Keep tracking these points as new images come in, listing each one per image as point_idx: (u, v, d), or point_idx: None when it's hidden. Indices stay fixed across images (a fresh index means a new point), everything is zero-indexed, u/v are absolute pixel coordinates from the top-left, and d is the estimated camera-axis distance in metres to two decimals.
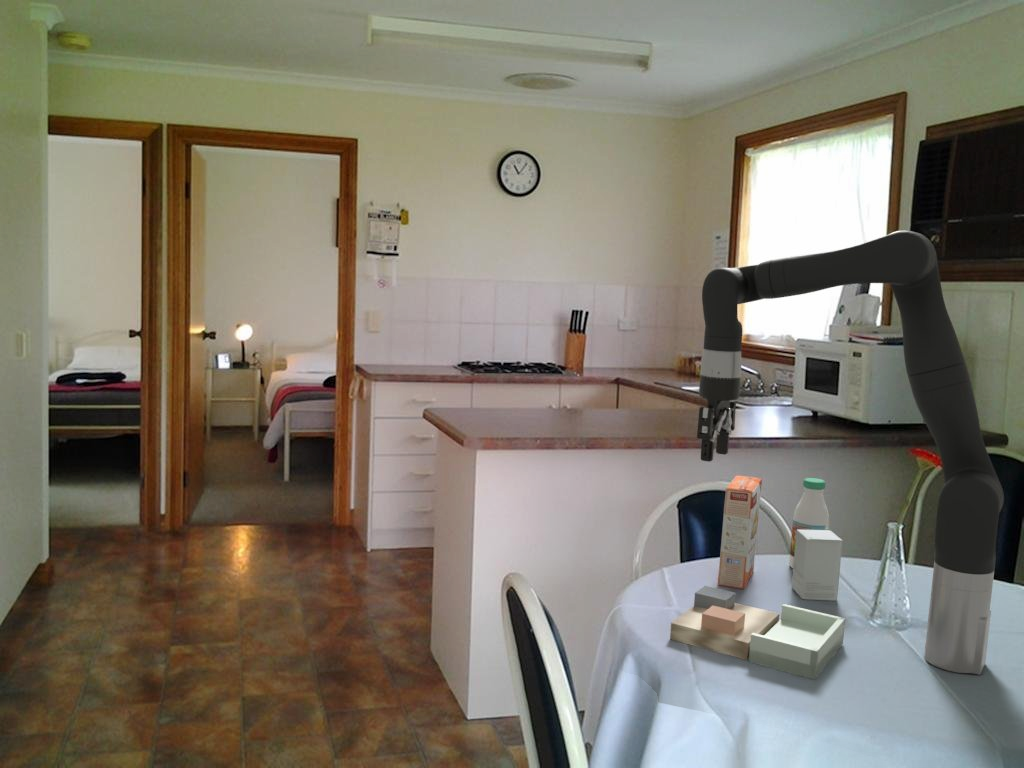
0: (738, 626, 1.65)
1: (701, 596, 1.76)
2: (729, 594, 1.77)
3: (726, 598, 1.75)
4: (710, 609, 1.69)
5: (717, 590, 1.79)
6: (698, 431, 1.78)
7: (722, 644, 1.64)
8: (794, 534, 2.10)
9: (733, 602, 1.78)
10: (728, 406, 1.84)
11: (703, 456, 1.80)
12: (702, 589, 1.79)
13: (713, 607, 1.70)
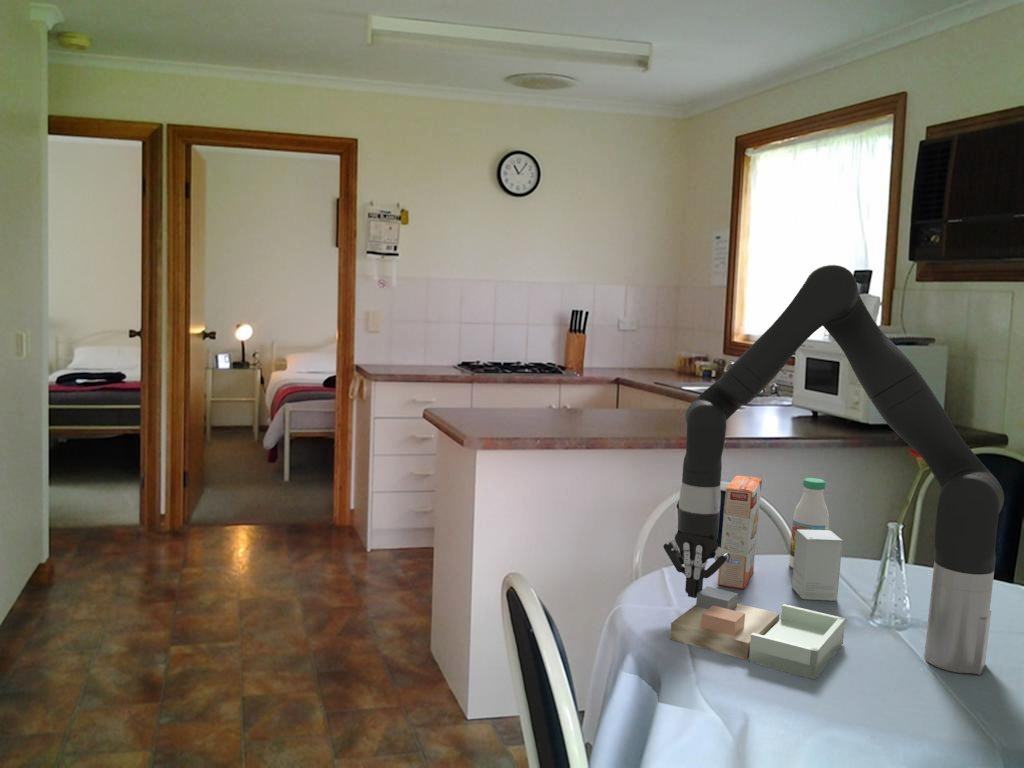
0: (738, 626, 1.65)
1: (703, 597, 1.76)
2: (731, 595, 1.77)
3: (728, 599, 1.74)
4: (710, 609, 1.69)
5: (719, 591, 1.79)
6: (711, 574, 1.77)
7: (722, 644, 1.64)
8: (794, 534, 2.10)
9: (736, 603, 1.78)
10: None
11: None
12: (704, 589, 1.79)
13: (713, 607, 1.70)
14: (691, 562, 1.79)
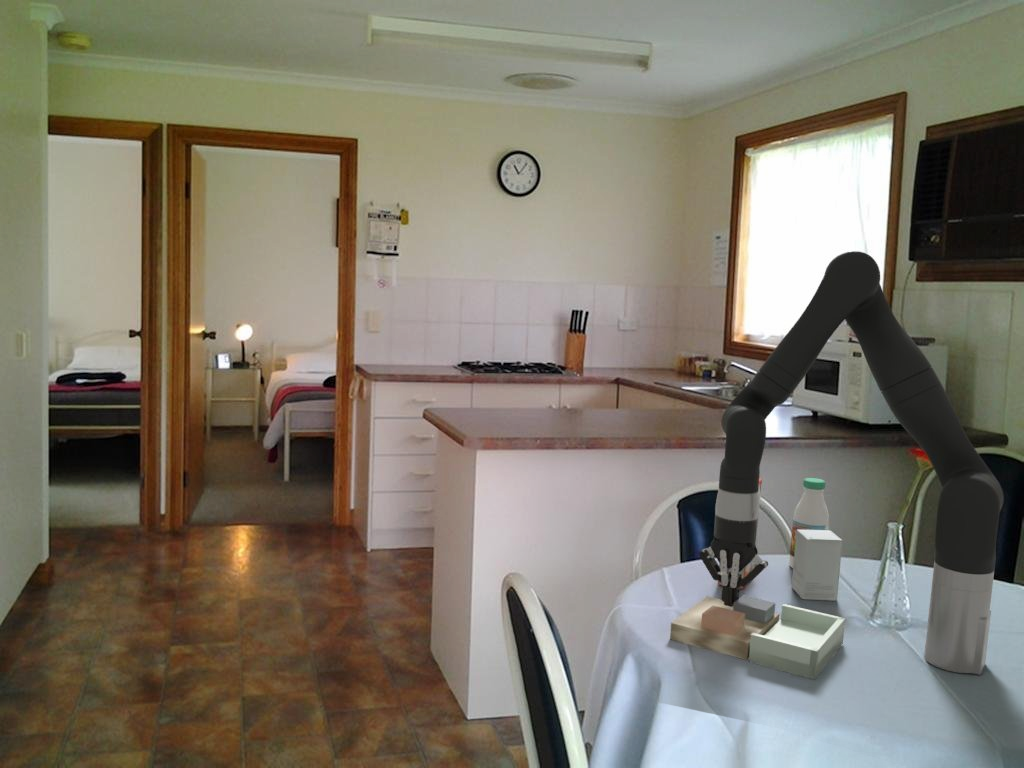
0: (738, 626, 1.65)
1: (740, 606, 1.72)
2: (769, 604, 1.73)
3: (765, 608, 1.70)
4: (710, 609, 1.69)
5: (756, 600, 1.75)
6: (748, 583, 1.73)
7: (722, 644, 1.64)
8: (794, 534, 2.10)
9: (773, 613, 1.74)
10: None
11: None
12: (740, 599, 1.75)
13: (713, 607, 1.70)
14: (728, 570, 1.75)
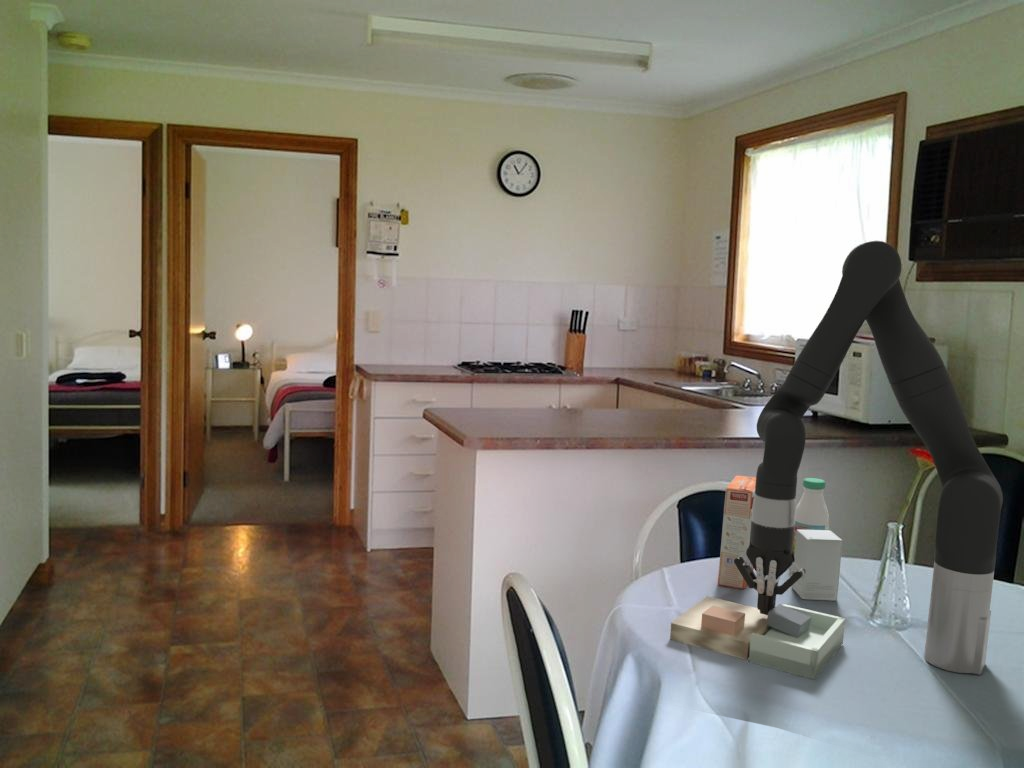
0: (738, 626, 1.65)
1: (775, 616, 1.69)
2: (804, 618, 1.69)
3: (801, 622, 1.67)
4: (710, 609, 1.69)
5: (792, 611, 1.71)
6: None
7: (722, 644, 1.64)
8: (794, 534, 2.10)
9: (808, 627, 1.70)
10: None
11: None
12: (776, 608, 1.71)
13: (713, 607, 1.70)
14: (764, 578, 1.71)
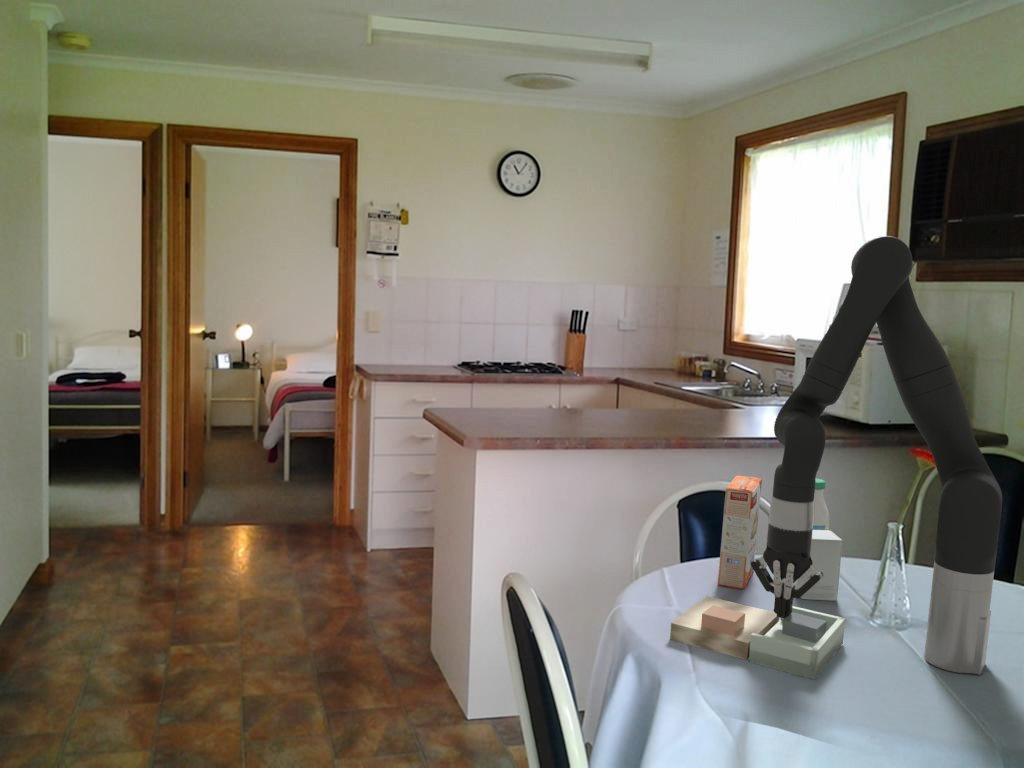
0: (738, 626, 1.65)
1: (789, 624, 1.67)
2: (819, 623, 1.67)
3: (816, 627, 1.65)
4: (710, 609, 1.69)
5: (807, 617, 1.69)
6: None
7: (722, 644, 1.64)
8: None
9: (824, 631, 1.68)
10: None
11: (789, 614, 1.70)
12: (790, 616, 1.70)
13: (713, 607, 1.70)
14: (781, 581, 1.69)
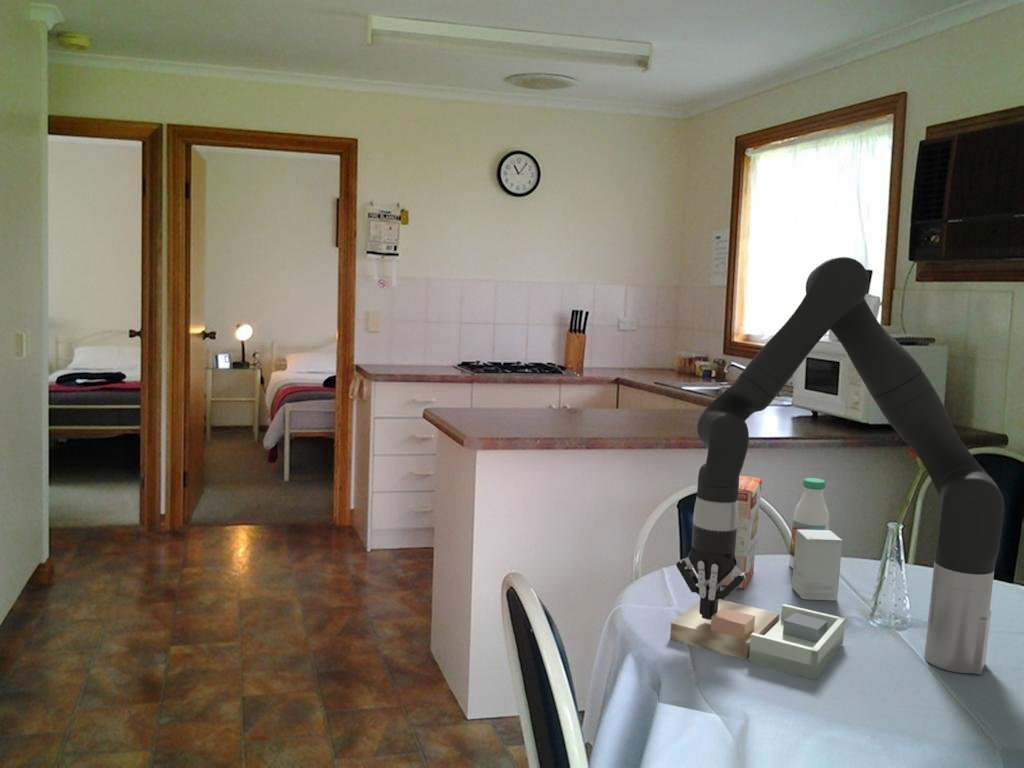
0: (747, 629, 1.64)
1: (790, 624, 1.67)
2: (821, 623, 1.67)
3: (817, 627, 1.65)
4: (720, 612, 1.68)
5: (808, 618, 1.69)
6: (727, 595, 1.66)
7: (722, 644, 1.64)
8: (794, 534, 2.10)
9: (825, 631, 1.68)
10: None
11: None
12: (791, 616, 1.69)
13: (723, 610, 1.69)
14: (706, 582, 1.68)
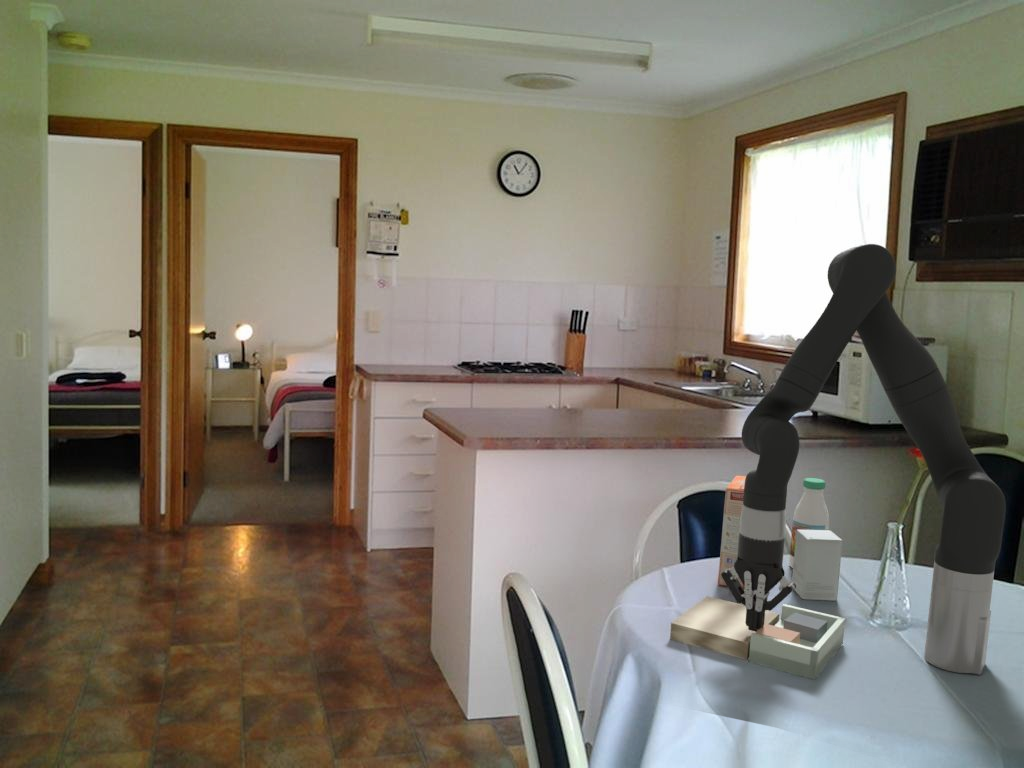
0: None
1: (790, 624, 1.67)
2: (821, 623, 1.67)
3: (817, 627, 1.65)
4: (763, 628, 1.64)
5: (808, 618, 1.69)
6: (775, 606, 1.61)
7: (722, 644, 1.64)
8: (794, 534, 2.10)
9: (825, 631, 1.68)
10: None
11: (761, 626, 1.64)
12: (791, 616, 1.69)
13: (767, 626, 1.65)
14: (752, 592, 1.63)
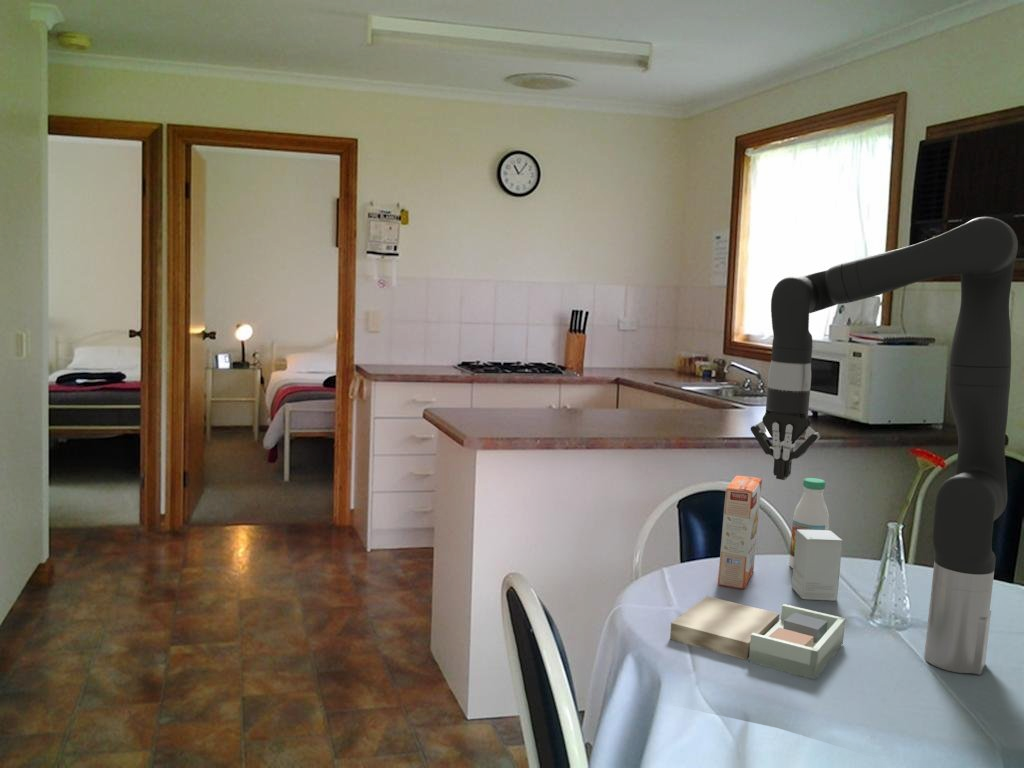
0: None
1: (790, 624, 1.67)
2: (821, 623, 1.67)
3: (817, 627, 1.65)
4: (776, 631, 1.62)
5: (808, 618, 1.69)
6: (801, 454, 1.74)
7: (722, 644, 1.64)
8: (794, 534, 2.10)
9: (825, 631, 1.68)
10: None
11: (788, 475, 1.76)
12: (791, 616, 1.69)
13: (779, 629, 1.63)
14: (780, 443, 1.76)
